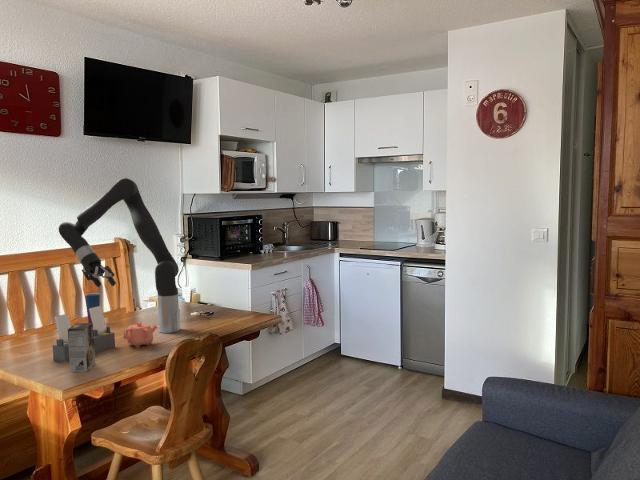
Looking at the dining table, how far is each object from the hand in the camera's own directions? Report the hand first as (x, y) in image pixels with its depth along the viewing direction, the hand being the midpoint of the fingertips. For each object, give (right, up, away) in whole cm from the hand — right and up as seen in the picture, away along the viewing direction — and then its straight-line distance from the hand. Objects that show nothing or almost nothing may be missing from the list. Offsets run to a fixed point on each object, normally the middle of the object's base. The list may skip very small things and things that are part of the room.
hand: (107, 285), depth 236 cm
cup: (-20, -22, +34) cm, 46 cm away
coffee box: (+5, -28, -36) cm, 46 cm away
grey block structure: (-2, -26, -16) cm, 31 cm away
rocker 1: (-6, -20, -24) cm, 31 cm away
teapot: (+17, -25, -5) cm, 31 cm away
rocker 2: (+1, -19, -9) cm, 21 cm away
